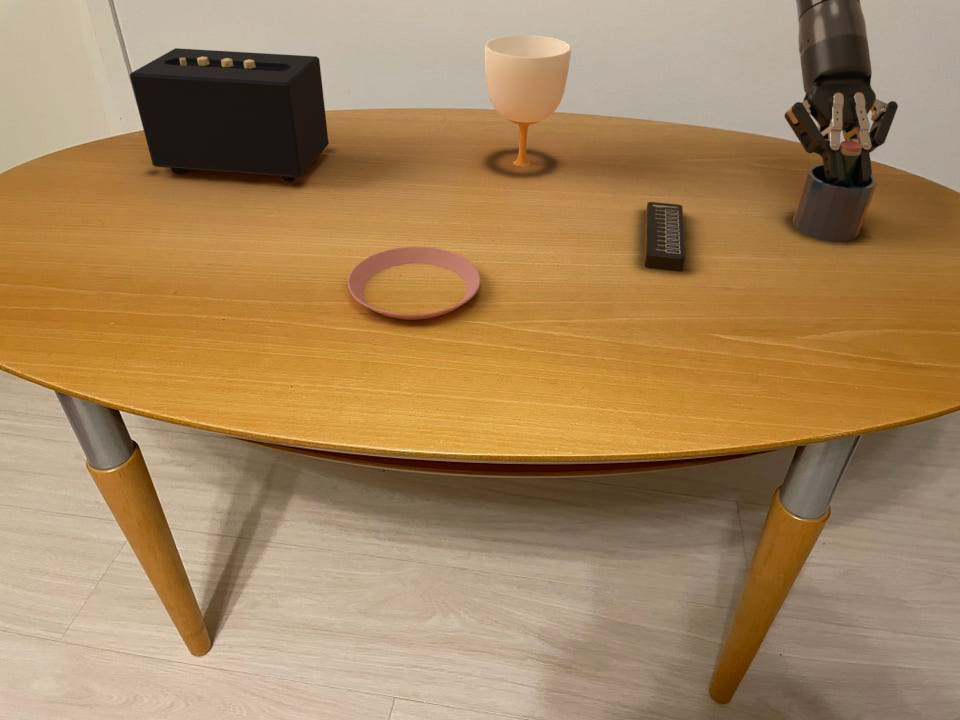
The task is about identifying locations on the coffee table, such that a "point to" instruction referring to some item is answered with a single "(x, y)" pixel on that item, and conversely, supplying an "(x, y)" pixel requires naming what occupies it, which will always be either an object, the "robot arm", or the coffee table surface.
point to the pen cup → (831, 207)
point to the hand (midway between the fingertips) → (849, 183)
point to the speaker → (232, 111)
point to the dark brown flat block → (664, 237)
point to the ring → (413, 256)
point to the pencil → (849, 159)
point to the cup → (526, 80)
